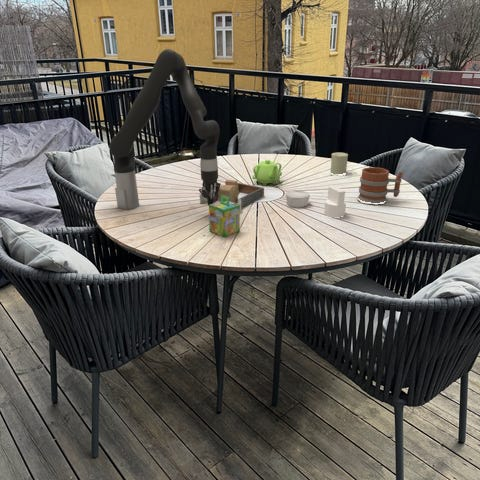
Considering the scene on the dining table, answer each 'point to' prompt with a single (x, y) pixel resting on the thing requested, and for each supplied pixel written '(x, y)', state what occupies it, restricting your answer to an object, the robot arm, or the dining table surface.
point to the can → (339, 163)
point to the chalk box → (224, 217)
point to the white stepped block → (335, 202)
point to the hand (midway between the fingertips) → (211, 205)
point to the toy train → (229, 190)
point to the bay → (252, 195)
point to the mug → (377, 185)
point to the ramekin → (297, 198)
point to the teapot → (267, 172)
